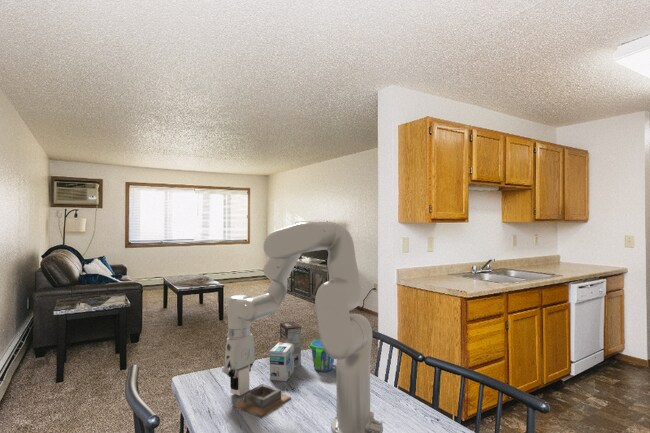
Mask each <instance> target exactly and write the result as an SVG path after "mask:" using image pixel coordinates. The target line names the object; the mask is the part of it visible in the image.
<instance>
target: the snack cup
mask: <svg viewBox="0 0 650 433" xmlns="http://www.w3.org/2000/svg"><path fill="white" fill-rule="evenodd" d="M309 347H310V350H311V355H312V356H311V357H312V361H313V362H312V363H313V367H314V370H316V371H318V372H321V373H322V372H330V371H331V370H333V367H334V362H335V359H333V358H331V357H330V356H329V355H327V353H326V352H325V350H324V349H323V346H322V343H321V339H315V340H312V341H311V342H310V345H309Z"/></svg>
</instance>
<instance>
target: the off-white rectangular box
mask: <svg viewBox="0 0 650 433" xmlns="http://www.w3.org/2000/svg"><path fill="white" fill-rule="evenodd" d="M233 373H234V370H233ZM237 378H238V390H234V389H231V388H230V393H231V394H234V395H237V396H242V395H244V393H246V392H248V391H250V372H249V367H247V366H245V367H243V368H241V369H238V372H237Z"/></svg>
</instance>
